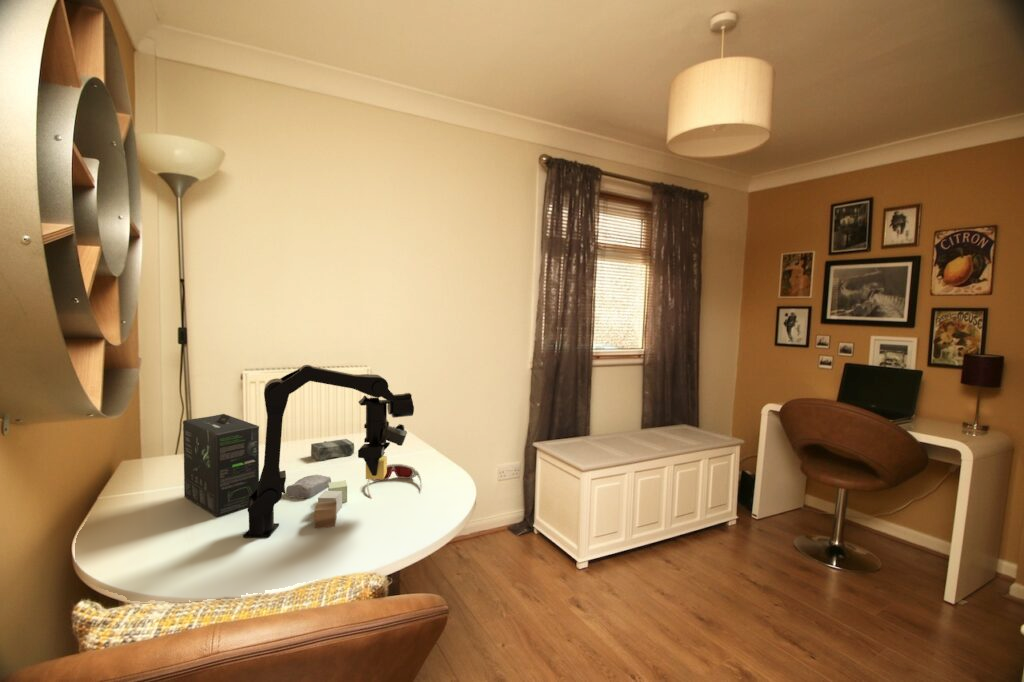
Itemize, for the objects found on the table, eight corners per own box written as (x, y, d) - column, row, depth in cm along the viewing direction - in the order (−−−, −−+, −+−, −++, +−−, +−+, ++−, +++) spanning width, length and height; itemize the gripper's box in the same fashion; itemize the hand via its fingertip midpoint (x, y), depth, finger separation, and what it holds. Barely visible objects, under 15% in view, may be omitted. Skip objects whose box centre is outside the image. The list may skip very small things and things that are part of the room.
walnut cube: (334, 526, 122) (334, 508, 121) (314, 528, 120) (314, 510, 120) (336, 518, 126) (336, 501, 126) (317, 520, 125) (317, 502, 125)
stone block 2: (355, 455, 181) (355, 442, 180) (318, 463, 171) (318, 449, 171) (346, 449, 187) (346, 437, 187) (310, 456, 177) (310, 443, 177)
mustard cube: (383, 478, 128) (383, 461, 128) (365, 479, 128) (365, 461, 128) (386, 472, 133) (386, 455, 133) (369, 472, 133) (369, 456, 133)
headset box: (261, 503, 134) (259, 418, 132) (216, 518, 124) (214, 426, 122) (225, 485, 147) (224, 407, 145) (182, 498, 137) (180, 414, 135)
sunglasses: (418, 474, 161) (418, 461, 160) (423, 502, 145) (424, 488, 144) (367, 479, 155) (367, 466, 154) (367, 508, 140) (367, 493, 139)
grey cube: (335, 515, 128) (335, 498, 128) (318, 515, 128) (318, 497, 128) (342, 507, 133) (342, 491, 133) (325, 507, 133) (325, 490, 133)
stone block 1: (283, 502, 140) (311, 499, 138) (281, 487, 140) (309, 483, 138) (307, 489, 152) (334, 486, 150) (305, 474, 152) (332, 471, 150)
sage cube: (347, 502, 137) (347, 486, 136) (329, 504, 135) (329, 488, 134) (345, 495, 141) (345, 480, 141) (328, 498, 139) (328, 482, 139)
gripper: (400, 427, 121) (400, 484, 122) (409, 411, 140) (408, 461, 141) (357, 427, 120) (357, 484, 121) (372, 411, 138) (372, 461, 140)
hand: (376, 472), depth 131 cm, fingers closed on mustard cube, 5 cm apart
